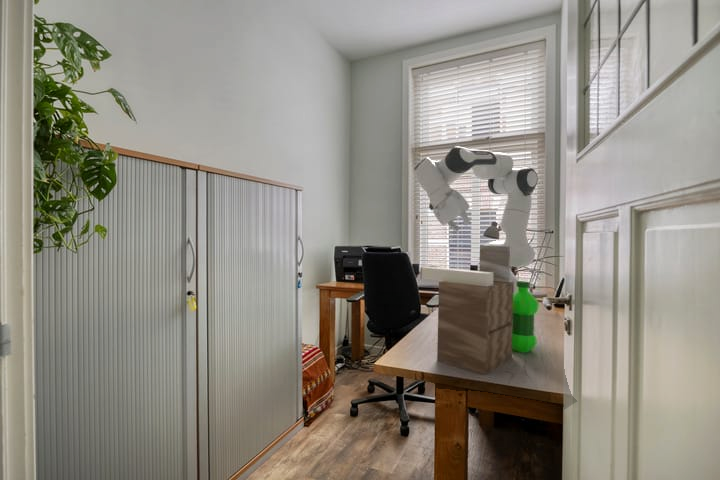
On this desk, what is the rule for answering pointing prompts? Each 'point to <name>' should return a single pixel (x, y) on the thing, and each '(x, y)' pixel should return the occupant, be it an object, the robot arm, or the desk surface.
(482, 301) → the wood grain block
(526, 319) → the plastic bottle
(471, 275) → the white rectangular bar
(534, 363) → the desk surface
